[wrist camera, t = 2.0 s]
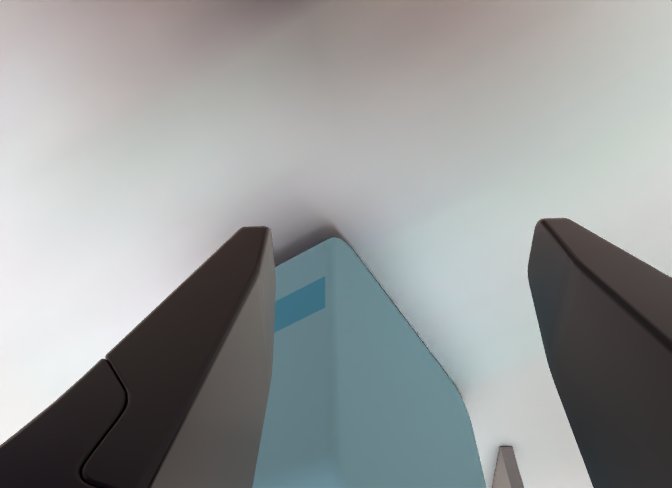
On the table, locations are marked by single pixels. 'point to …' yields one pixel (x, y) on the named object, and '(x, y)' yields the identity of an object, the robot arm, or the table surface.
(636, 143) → the table surface
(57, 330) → the table surface
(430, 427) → the data package
